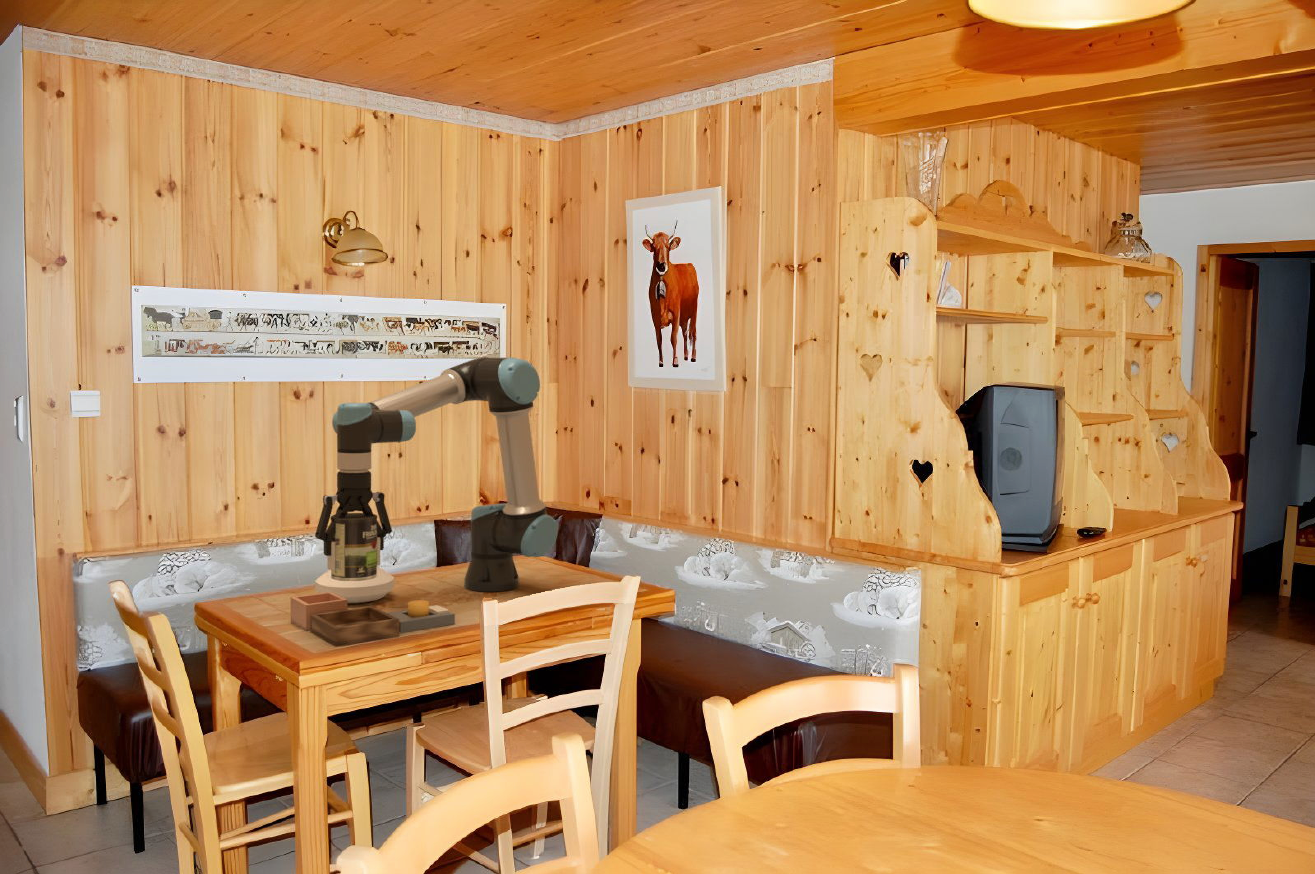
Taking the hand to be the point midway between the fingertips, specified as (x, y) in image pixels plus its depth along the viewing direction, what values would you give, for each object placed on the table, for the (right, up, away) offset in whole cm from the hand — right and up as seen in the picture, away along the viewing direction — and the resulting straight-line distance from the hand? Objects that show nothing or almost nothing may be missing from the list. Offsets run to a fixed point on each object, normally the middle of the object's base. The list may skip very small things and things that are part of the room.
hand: (354, 566), depth 241 cm
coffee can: (0, -2, 0) cm, 2 cm away
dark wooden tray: (0, -16, +1) cm, 16 cm away
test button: (+12, -14, +11) cm, 22 cm away
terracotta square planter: (-11, -15, +10) cm, 21 cm away
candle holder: (-10, -13, +36) cm, 39 cm away
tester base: (+12, -15, +11) cm, 22 cm away
